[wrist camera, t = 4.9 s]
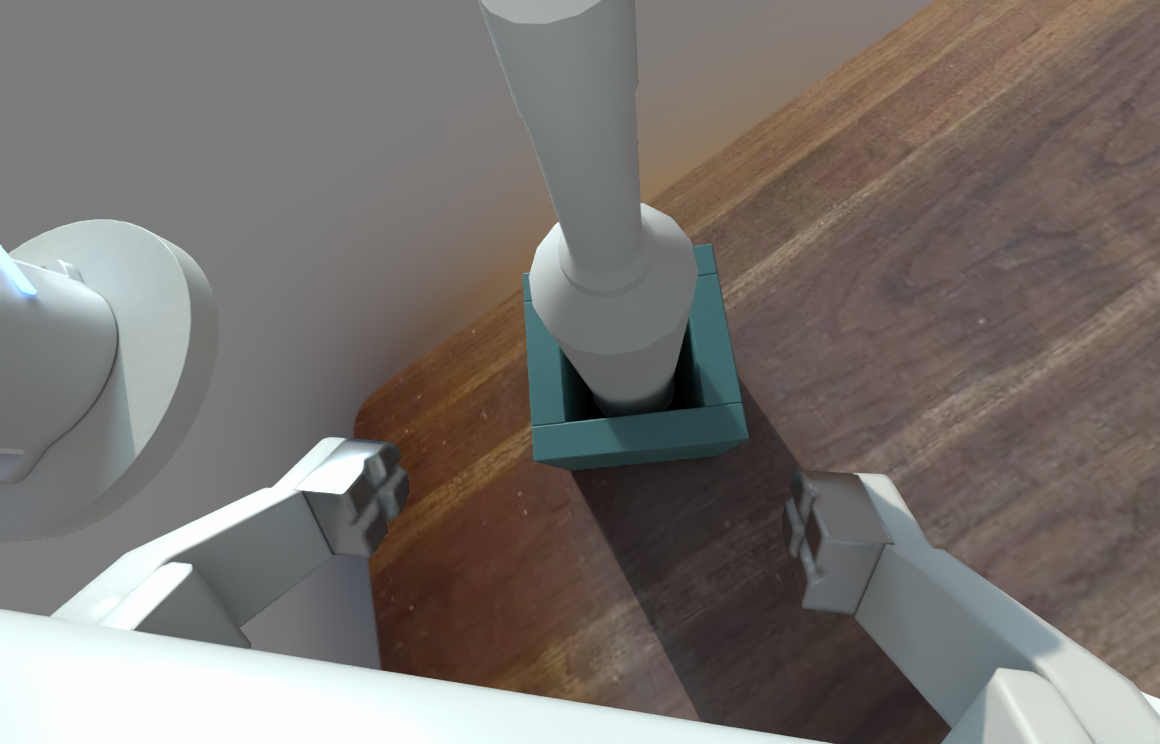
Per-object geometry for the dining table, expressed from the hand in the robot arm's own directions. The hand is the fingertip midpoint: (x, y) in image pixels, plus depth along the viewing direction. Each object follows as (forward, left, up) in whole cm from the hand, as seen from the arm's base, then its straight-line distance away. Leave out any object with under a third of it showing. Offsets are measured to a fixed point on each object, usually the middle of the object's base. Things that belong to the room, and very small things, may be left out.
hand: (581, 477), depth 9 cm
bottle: (+1, +6, -20) cm, 21 cm away
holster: (+1, +6, -20) cm, 21 cm away
